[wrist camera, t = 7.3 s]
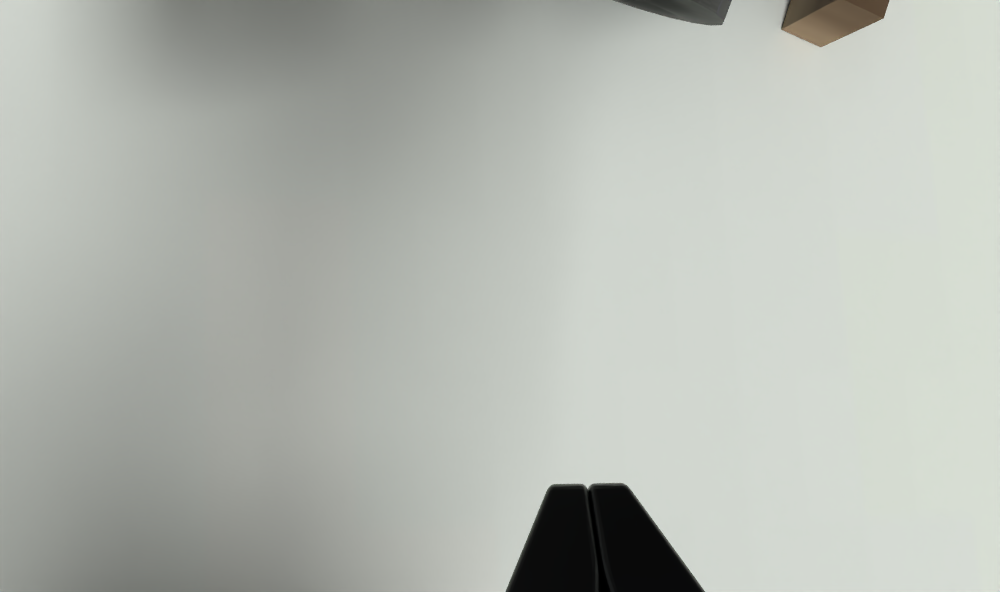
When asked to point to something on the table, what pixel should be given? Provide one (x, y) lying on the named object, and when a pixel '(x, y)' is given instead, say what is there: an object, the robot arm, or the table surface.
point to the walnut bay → (831, 18)
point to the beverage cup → (685, 9)
